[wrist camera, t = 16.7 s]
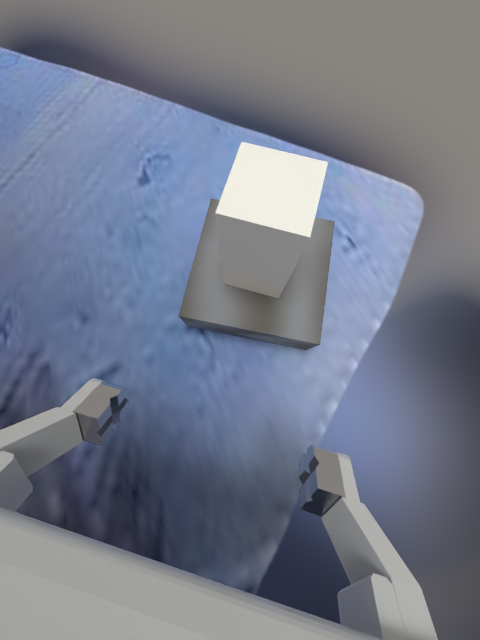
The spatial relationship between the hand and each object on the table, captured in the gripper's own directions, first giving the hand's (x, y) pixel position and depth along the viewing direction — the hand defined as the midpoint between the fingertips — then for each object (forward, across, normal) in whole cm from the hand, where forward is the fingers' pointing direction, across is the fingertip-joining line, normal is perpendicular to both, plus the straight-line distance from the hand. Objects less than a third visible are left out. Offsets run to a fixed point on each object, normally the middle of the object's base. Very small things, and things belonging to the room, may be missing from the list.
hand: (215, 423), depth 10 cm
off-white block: (+12, 0, -3) cm, 13 cm away
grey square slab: (+15, 0, 0) cm, 15 cm away
